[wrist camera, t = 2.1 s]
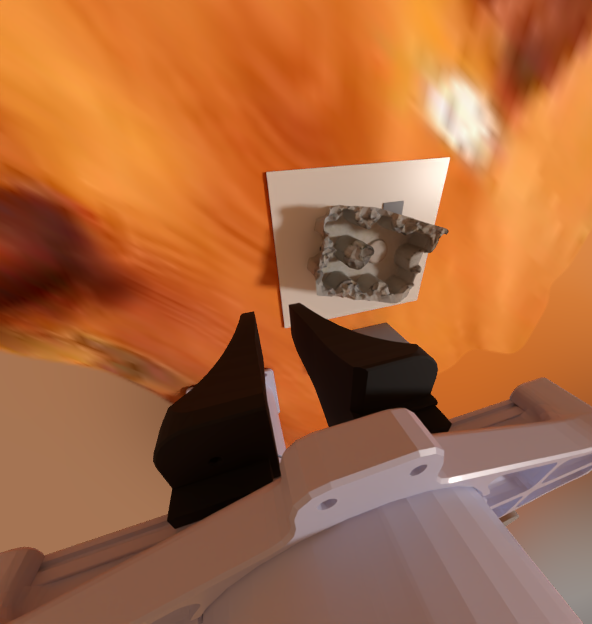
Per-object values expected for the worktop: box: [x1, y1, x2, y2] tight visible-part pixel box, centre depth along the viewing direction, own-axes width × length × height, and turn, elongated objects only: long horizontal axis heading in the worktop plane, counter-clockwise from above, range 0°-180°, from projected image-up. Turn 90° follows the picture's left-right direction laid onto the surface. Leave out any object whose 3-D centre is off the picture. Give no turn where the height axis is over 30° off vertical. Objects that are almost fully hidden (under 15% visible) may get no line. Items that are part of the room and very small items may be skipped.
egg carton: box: [307, 205, 448, 303], centre depth 20 cm, size 11×8×4 cm
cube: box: [352, 323, 409, 343], centre depth 27 cm, size 5×5×5 cm
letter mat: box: [266, 157, 450, 328], centre depth 22 cm, size 16×14×1 cm
